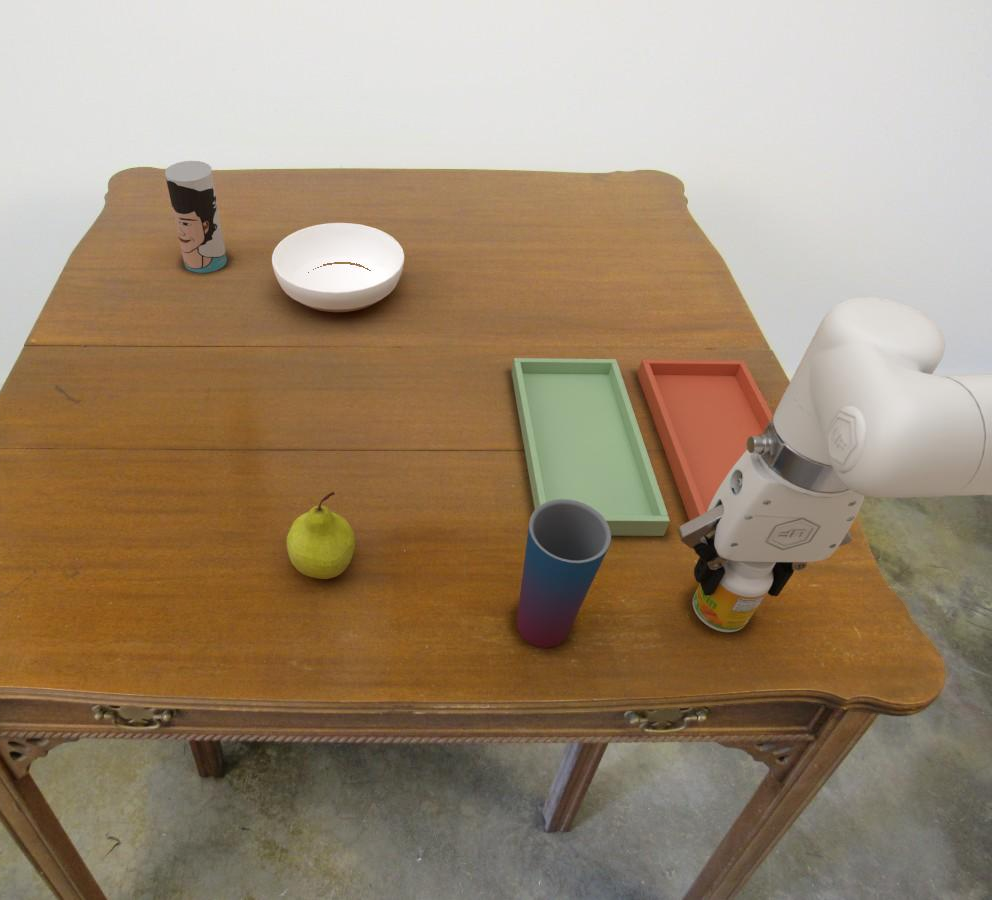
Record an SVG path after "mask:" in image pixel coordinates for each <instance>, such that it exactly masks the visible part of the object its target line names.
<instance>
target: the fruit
mask: <svg viewBox="0 0 992 900" xmlns="http://www.w3.org/2000/svg"><path fill="white" fill-rule="evenodd" d="M335 494H336V493H335V492H334V491H331V492H330V493H328V494H327V495H325V496H324V497H323V498H322V499H320V501H319V504H318V505H316V506H312V508H311V509H310V510H309V511H308V512H304V513H302V514H301V515H300V516H298V517H297V518H296V519H295V520H294V521H293V522H292V524H291V526H290V528H289V531H288V533H287V536H286V549H287V553H288V558H289V560H290V562H291V564H292V565H293V567H294V568H295V569H296V570H297V571H298V572H300V573H301V574H303V575H304V576H307V577H309V578H313V579H320V580H329V579H333V578H336V577H338V576H340V575H342V574H343V573H344V572H345V570H346V569H347V568H348V566H349V565H350V563H351V561H352V559H353V556H354V554H355V553H354V552H355V547H356V535H355V533H354V530H353V528H352V526H351V525H350V523H349V522H348V521H347V520H346V519H345V518H344V517H343V516H341V515H340V514H338V513H337V512H333V511H331V509H330V508H329V507H327V506H326V505H322V503H323V502H325V501H327V500H328V499H329V498H330V497H331V496H334V495H335Z"/></svg>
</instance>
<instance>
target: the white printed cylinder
mask: <svg viewBox="0 0 992 900" xmlns="http://www.w3.org/2000/svg"><path fill="white" fill-rule="evenodd" d="M164 175H165V181H166V185H167V190H168V194H169V199H170V204H171V208H172V214H173V218H174V222H175V227H176V231H177V236H178V241H179V246H180V250H181V254H182V260H183V264H184V267H185V268H186V269H187V270H189V271H191V272H194V273H197V274H207V273H212V272H215V271H218V270H220V269H222V268H224V266H226V264H227V262H228V259H227V252H226V247H225V241H224V234H223V228H222V224H221V217H220V213H219V205H218V199H217V194H216V188H215V180H214V176H213V175H214V174H213V169H212V166H211V165H210V164H209V163H207V162H204V161H200V160H185V161H180V162H176V163H174V164H171V165H169V166H168V167H167V168H166V169H165V170H164ZM225 255H226V257H225ZM224 258H225V259H224ZM223 259H224V260H223ZM222 260H223V261H222ZM221 261H222V262H221ZM185 262H186V263H187V264H186V263H185ZM219 262H220V263H219ZM188 264H189V265H188ZM209 266H210V267H209Z"/></svg>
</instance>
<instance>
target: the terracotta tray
mask: <svg viewBox="0 0 992 900" xmlns="http://www.w3.org/2000/svg"><path fill="white" fill-rule="evenodd" d="M636 375H637V378H638V381H639V384H640V386H641V390H642V392H643V395H644V398H645V401H646V403H647V407H648V408H649V411H650V414H651V417H652V420H653V422H654V423H653V424H654V425H655V426H654V427H655V428H656V431H657V433H658V436H659V439H660V442H661V445H662V448H663V450H664V453H665V457H666V459H667V462H668V464H669V465H668V466H669V467H670V471H671V473H672V476H673V480H674V482H675V484H676V487H677V490H678V493H679V495H680V498H681V501H682V503H683V506H684V509H685V512H686V515H687V518H688V522H689V521H691V520H692V519H694V518H696V517H698V516H700V515H702V514H704V513H706V512H707V510H708V508H709V505H710V503H711V501H712V499H713V498H714V496H715V494H716V492H717V490H718V489H719V487H720V485H721V484H722V482H723V481H724V479H725V478H726V476H727V475H728V473H729V472H730V470H731V469H732V468H733V466H734V465H735V464H736V462H737V461H738V460H739V459H740V457H741V456H742V455H743V454H744V453H745V452H746V451H747V440H748V438H749V437H750V436H758V435H760V434H763V433H764V431H765V429H766V427H767V425H768V423H769V422H770V421H771V419H772V417H773V415H774V414H773V412H772V411H771V409H770V407H769V404H768V403H767V401H766V399H765V397H764V396H763V393H762V391H761V389H760V388H759V386H758V384H757V381H756V380H755V379H754V376H753V375H752V373H751V371H750V368H749V366H748V365H747V363H746V362H745V360H734V359H732V360H727V359H725V360H724V359H651V358H649V359H645V358H643V359H641V361H640V364H639V368H638V371H637V374H636ZM708 534H709V533H708ZM708 534H707V535H708ZM707 535H706V536H707Z"/></svg>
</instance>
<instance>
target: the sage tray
mask: <svg viewBox="0 0 992 900" xmlns="http://www.w3.org/2000/svg"><path fill="white" fill-rule="evenodd" d="M512 361H513V362H512V368H511V379H512V384H513V390H514V396H515V402H516V406H517V407H516V408H517V413H518V420H519V425H520V431H521V436H522V443H523V448H524V449H523V450H524V455H525V461H526V466H527V472H528V473H527V474H528V478H529V484H530V490H531V495H532V496H531V497H532V500H533V507H534V508H533V509H534V511H535V510H536V509H537V508H538V507H539V506H540V505H542V504H544V503H546V502H548V501H552V500H558V499H569V500H575V501H579V502H582V503H584V504H586V505H588V506H590V507H592V508H593V509H595V510H596V511H598V512H599V513H600V514H601V515H602V516H603V517H604V519H605V520H606V522H607V523H608V525H609V528H610V532H611V537H612V536H618V537H621V536H623V537H624V536H626V537H664V536H665V534H666V531H667V529H668V527H669V524H670V523H671V520H670V517H669V513H668V510H667V508H666V504H665V501H664V499H663V495H662V492H661V490H660V486H659V483H658V480H657V477H656V475H655V471H654V468H653V466H652V462H651V459H650V457H649V454H648V450H647V448H646V444H645V440H644V439H643V435H642V432H641V430H640V427H639V424H638V421H637V418H636V415H635V411H634V408H633V405H632V402H631V400H630V396H629V393H628V391H627V387H626V384H625V381H624V379H623V375H622V373H621V369H620V367H619V364H618V361H617V359H616V358H551V357H550V358H549V357H548V358H546V357H545V358H543V357H539V358H538V357H537V358H536V357H535V358H534V357H514V358H513V360H512Z"/></svg>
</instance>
